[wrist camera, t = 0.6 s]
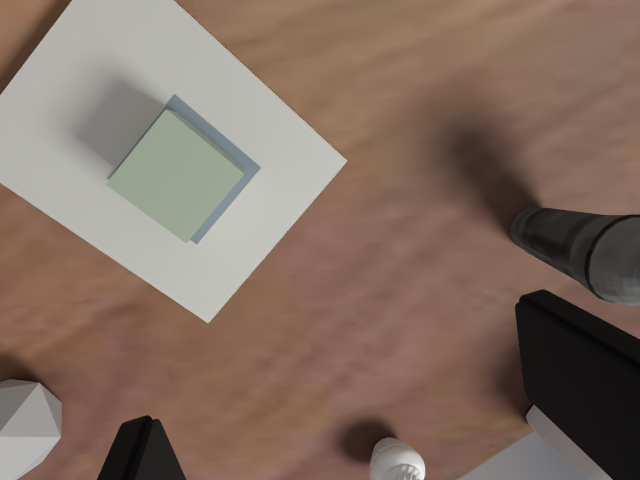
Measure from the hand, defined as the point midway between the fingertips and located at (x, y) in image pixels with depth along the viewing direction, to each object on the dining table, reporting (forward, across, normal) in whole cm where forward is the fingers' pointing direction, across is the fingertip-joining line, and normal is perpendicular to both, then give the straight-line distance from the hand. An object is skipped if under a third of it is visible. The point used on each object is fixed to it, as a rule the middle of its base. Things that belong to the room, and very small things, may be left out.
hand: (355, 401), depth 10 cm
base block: (+28, +7, -5) cm, 29 cm away
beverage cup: (+30, -25, +10) cm, 40 cm away
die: (+29, +28, +12) cm, 42 cm away
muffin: (+29, -4, +31) cm, 43 cm away
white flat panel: (+29, +8, -7) cm, 31 cm away
